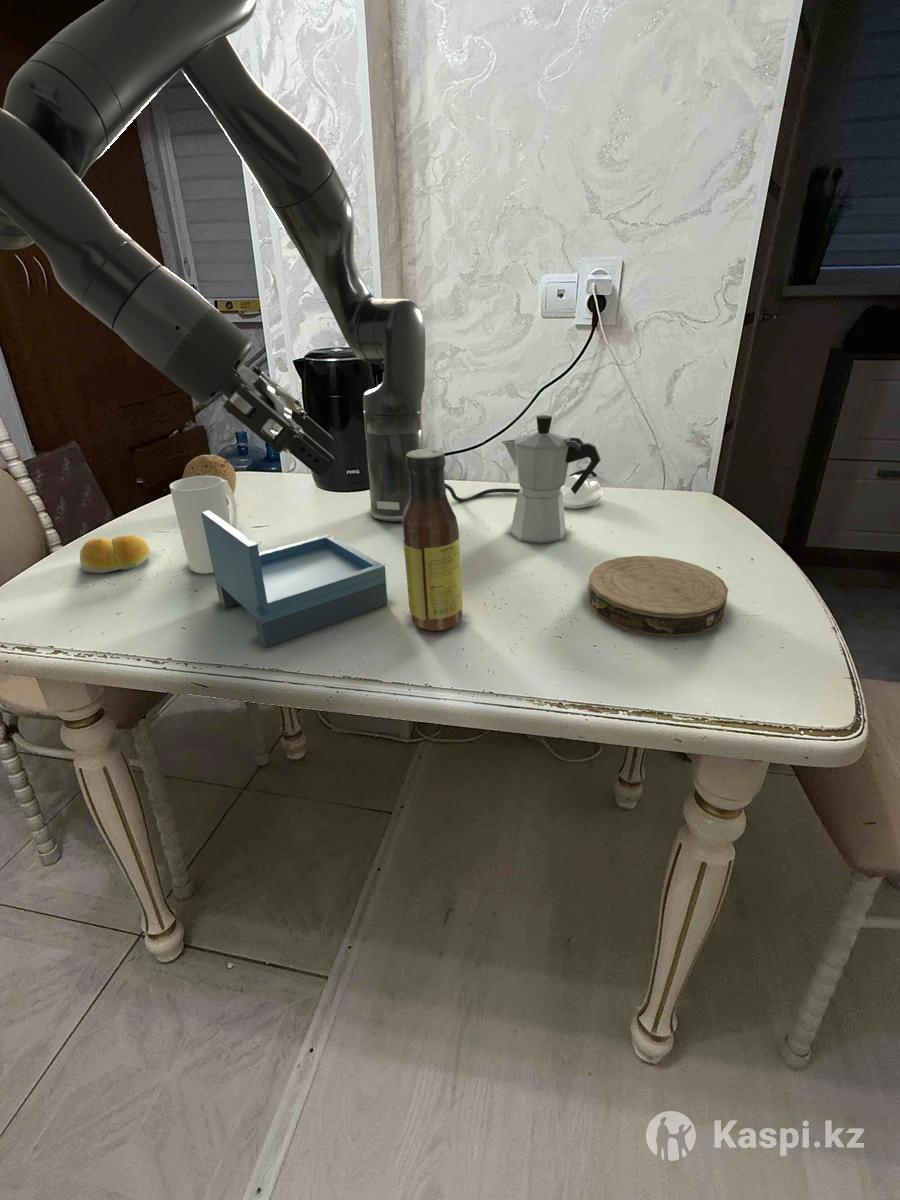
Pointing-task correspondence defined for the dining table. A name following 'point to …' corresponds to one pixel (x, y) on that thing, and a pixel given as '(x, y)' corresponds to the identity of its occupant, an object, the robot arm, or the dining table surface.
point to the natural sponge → (211, 469)
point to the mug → (190, 503)
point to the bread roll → (113, 554)
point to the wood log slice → (657, 596)
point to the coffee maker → (545, 480)
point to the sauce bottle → (431, 545)
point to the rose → (580, 493)
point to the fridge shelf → (292, 581)
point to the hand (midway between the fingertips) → (328, 457)
